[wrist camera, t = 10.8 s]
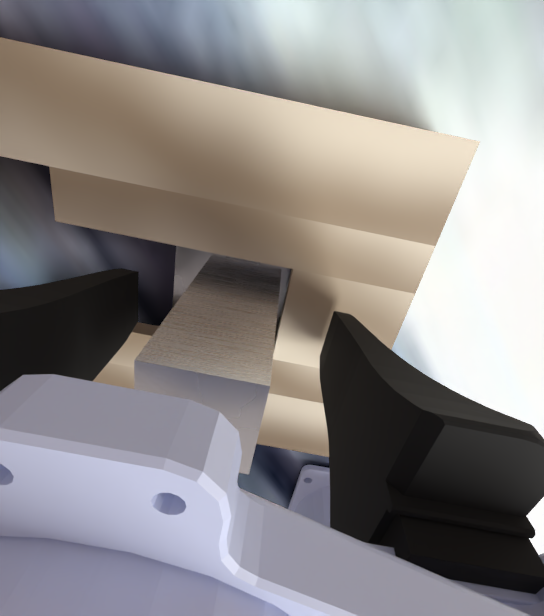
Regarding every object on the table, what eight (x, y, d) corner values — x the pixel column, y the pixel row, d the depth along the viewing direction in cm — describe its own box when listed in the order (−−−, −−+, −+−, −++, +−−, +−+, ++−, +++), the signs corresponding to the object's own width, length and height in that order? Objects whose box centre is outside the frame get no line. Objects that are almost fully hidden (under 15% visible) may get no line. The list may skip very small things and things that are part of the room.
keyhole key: (293, 349, 17) (292, 518, 9) (177, 327, 17) (80, 480, 9) (323, 235, 14) (357, 342, 7) (185, 207, 14) (57, 283, 6)
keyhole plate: (337, 415, 19) (344, 459, 16) (-96, 333, 18) (-162, 366, 15) (440, 141, 12) (479, 141, 10) (-222, -2, 12) (-371, -44, 9)
